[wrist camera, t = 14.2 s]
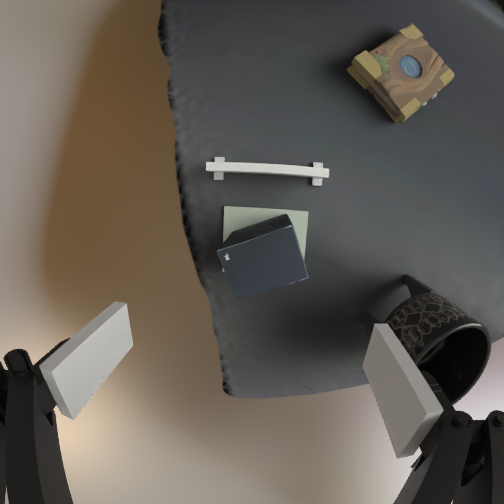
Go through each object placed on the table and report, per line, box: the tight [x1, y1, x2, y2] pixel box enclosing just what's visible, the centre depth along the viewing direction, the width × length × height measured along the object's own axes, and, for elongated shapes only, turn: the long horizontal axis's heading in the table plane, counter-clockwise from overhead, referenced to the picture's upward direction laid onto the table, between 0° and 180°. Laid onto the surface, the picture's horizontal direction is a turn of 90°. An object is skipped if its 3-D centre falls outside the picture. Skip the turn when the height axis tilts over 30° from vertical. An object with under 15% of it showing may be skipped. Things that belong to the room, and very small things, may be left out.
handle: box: [206, 157, 329, 186], centre depth 32 cm, size 3×14×5 cm, turn 87°
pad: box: [222, 206, 308, 272], centre depth 37 cm, size 9×11×1 cm
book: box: [347, 24, 454, 123], centre depth 27 cm, size 15×11×5 cm
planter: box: [361, 274, 491, 405], centre depth 29 cm, size 13×13×18 cm
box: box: [217, 214, 308, 300], centre depth 31 cm, size 8×6×11 cm
